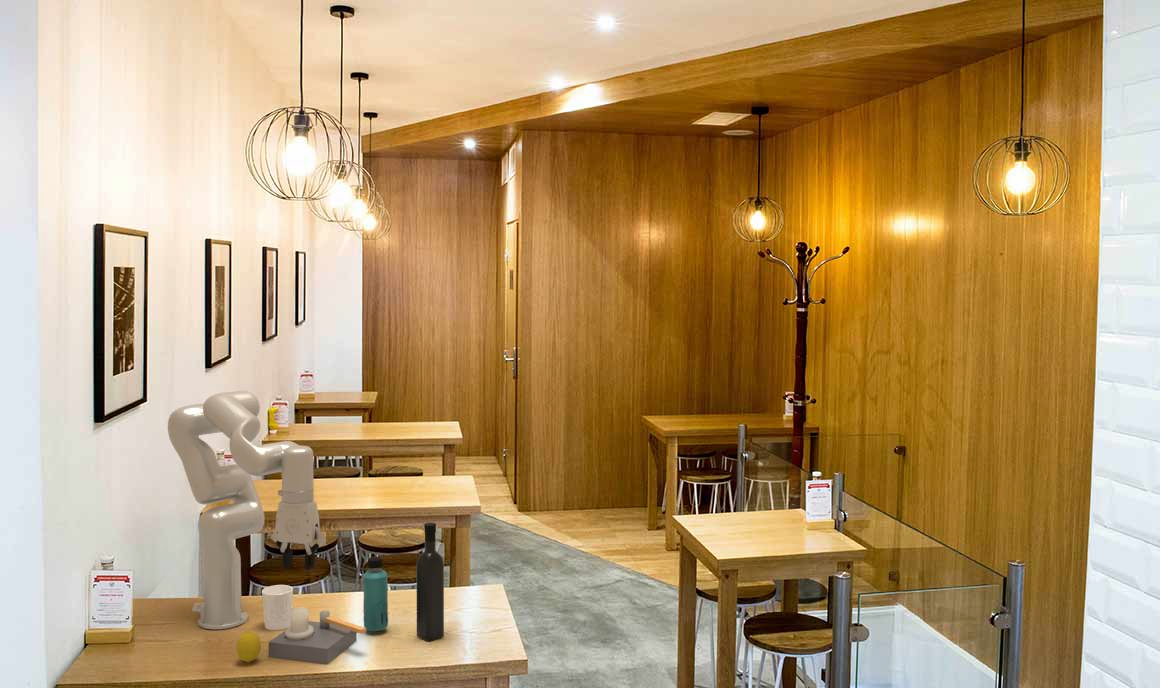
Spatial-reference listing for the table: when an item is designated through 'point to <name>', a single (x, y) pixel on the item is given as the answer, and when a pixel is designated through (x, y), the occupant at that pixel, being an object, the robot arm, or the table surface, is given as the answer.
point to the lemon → (248, 646)
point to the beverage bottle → (375, 596)
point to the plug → (299, 625)
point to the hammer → (338, 623)
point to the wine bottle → (430, 589)
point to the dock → (313, 645)
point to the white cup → (277, 606)
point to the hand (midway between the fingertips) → (298, 567)
